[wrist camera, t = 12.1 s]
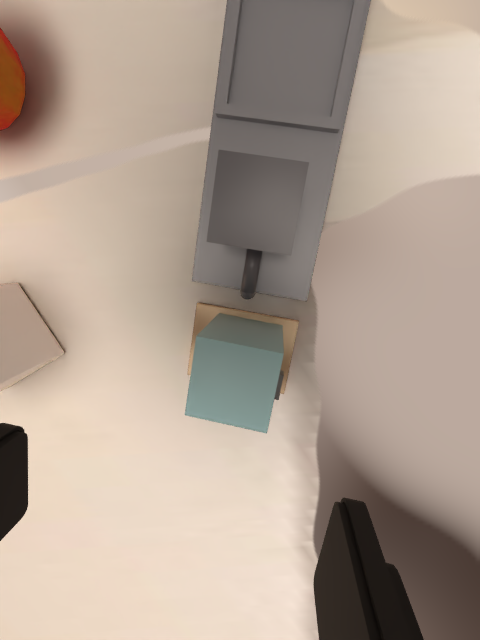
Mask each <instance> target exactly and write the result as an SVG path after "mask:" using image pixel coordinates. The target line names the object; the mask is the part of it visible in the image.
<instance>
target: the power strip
mask: <svg viewBox="0 0 480 640" xmlns="http://www.w3.org/2000/svg"><path fill="white" fill-rule="evenodd" d="M370 1H371V0H227V6H226V14H225V22H224V30H223V38H222V46H221V54H220V62H219V69H218V77H217V85H216V93H215V101H214V109H213V117H212V125H211V133H210V141H209V149H208V157H207V164H206V172H205V180H204V188H203V196H202V204H201V212H200V220H199V228H198V236H197V244H196V252H195V259H194V267H193V275H192V281H195V282H200V283H206V284H211V285H217V286H223V287H228V288H234V289H240V294H241V296H242V297H243V298H244V299H251V298H253V297H254V295H255V292H257V293H262V294H268V295H274V296H279V297H285V298H291V299H296V300H302V301H307V299H308V294H309V289H310V284H311V280H312V275H313V270H314V266H315V261H316V256H317V251H318V247H319V242H320V237H321V232H322V228H323V223H324V218H325V214H326V209H327V204H328V199H329V195H330V190H331V185H332V181H333V176H334V171H335V166H336V162H337V157H338V152H339V148H340V143H341V138H342V133H343V129H344V124H345V119H346V115H347V110H348V105H349V100H350V96H351V91H352V86H353V81H354V77H355V72H356V67H357V63H358V58H359V53H360V48H361V44H362V39H363V34H364V30H365V25H366V20H367V15H368V11H369V6H370Z"/></svg>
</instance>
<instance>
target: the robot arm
mask: <svg viewBox="0 0 480 640" xmlns="http://www.w3.org/2000/svg"><path fill="white" fill-rule="evenodd" d="M27 507H28V437H27V434H26V433H24V429H23V428H22V427H20V426H15V425H11V424H6V423H0V541H1V540H2V539H3V538H4V537H5V535H6V534H7V533H8V532H9V531H10V530H11V529H12V528H13V527H14V526H15V525H16V524H17V523H18V522H19V521H20V519H21V518H22V517H23V516H24V514H25V512H26V510H27ZM314 595H315V605H316V614H317V624H318V633H319V640H423V636H422V634H421V631H420V628H419V626H418V623H417V620H416V618H415V615H414V612H413V609H412V607H411V604H410V601H409V599H408V596H407V593H406V591H405V588H404V585H403V582H402V580H401V577H400V575H399V573H398V570H397V569H396V568H395V566H394V565H392V564H389V563H386V562H385V559H384V556H383V554H382V550H381V548H380V545H379V542H378V539H377V536H376V533H375V530H374V527H373V524H372V521H371V518H370V516H369V512H368V510H367V507H366V505H365V503H364V502H361V501H357V500H352V499H348V498H343V499H342V500H341V503H340V502H335V503H334V506H333V510H332V513H331V517H330V520H329V524H328V528H327V531H326V535H325V538H324V542H323V545H322V549H321V553H320V556H319V560H318V563H317V567H316V570H315V575H314Z"/></svg>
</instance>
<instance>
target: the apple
mask: <svg viewBox="0 0 480 640" xmlns="http://www.w3.org/2000/svg"><path fill="white" fill-rule="evenodd" d="M24 98H25V73H24V70H23V67H22V64H21V62H20V59H19V56H18V53H17V52H16V50H15V49H14V47H13V46H12V44H11V43H10V41H9V40H8V38H7V37H6V36H5V34H4V33H3V31H2V30H1V28H0V130H2V129H5V128H8V127H9V126H10V125H11V124H12V123H13V121H14V120H15V119H16V118H17V117H18V116H19V115H20V112H21V108H22V105H23V102H24Z"/></svg>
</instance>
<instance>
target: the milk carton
mask: <svg viewBox="0 0 480 640" xmlns="http://www.w3.org/2000/svg"><path fill="white" fill-rule="evenodd" d="M63 354H64V351H63V349H62V348H61V346H60V345H59V343H58V342H57V340H56V339H55V337H54V336H53V334H52V333H51V331H50V330H49V328H48V327H47V325H46V324H45V323H44V321H43V320H42V318H41V317H40V315H39V314H38V312H37V311H36V309H35V308H34V306H33V305H32V303H31V302H30V300H29V299H28V297H27V296H26V294H25V293H24V291H23V290H22V288H21V287H20V285H19V284H18V283H9V284H1V285H0V391H2V390H4V389H6V388H8V387H10V386H12V385H14V384H15V383H17V382H19V381H20V380H22V379H24V378H25V377H27V376H28V375H30V374H32V373H33V372H35V371H37V370H38V369H40V368H42V367H43V366H45V365H47V364H48V363H50V362H52V361H53V360H55V359H57V358H58V357H60V356H61V355H63Z"/></svg>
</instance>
